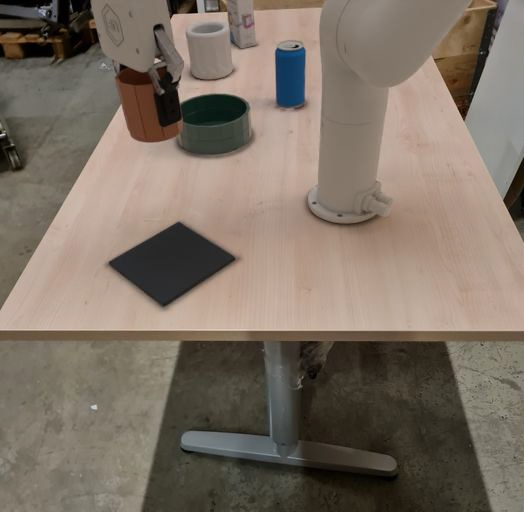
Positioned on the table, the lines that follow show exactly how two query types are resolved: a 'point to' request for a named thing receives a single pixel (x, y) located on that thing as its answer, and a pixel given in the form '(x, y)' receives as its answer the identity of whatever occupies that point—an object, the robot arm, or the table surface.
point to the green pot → (215, 124)
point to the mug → (209, 49)
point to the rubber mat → (171, 262)
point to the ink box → (241, 22)
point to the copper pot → (143, 107)
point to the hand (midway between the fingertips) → (153, 113)
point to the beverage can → (290, 73)
